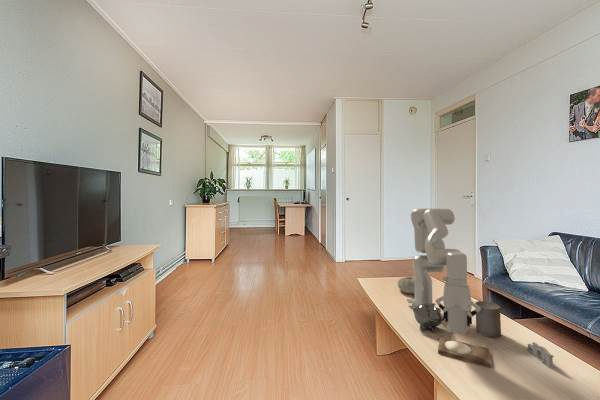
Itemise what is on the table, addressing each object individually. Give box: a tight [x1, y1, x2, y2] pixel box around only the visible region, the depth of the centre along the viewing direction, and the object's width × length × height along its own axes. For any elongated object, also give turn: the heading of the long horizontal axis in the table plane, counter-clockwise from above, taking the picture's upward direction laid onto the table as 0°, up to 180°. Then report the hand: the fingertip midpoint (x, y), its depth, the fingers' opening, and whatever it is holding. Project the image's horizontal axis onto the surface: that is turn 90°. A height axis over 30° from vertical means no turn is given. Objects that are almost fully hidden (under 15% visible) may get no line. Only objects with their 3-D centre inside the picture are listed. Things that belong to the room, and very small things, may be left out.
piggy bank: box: [412, 302, 445, 331], centre depth 129 cm, size 11×15×12 cm
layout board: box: [437, 336, 492, 368], centre depth 107 cm, size 18×12×2 cm, turn 57°
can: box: [446, 305, 469, 335], centre depth 108 cm, size 8×8×12 cm
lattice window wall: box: [527, 341, 555, 369], centre depth 102 cm, size 12×2×6 cm, turn 170°
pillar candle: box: [474, 300, 502, 339], centre depth 123 cm, size 10×10×15 cm
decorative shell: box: [397, 276, 415, 295], centre depth 179 cm, size 18×18×10 cm
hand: (457, 322), depth 108 cm, fingers closed on can, 7 cm apart
